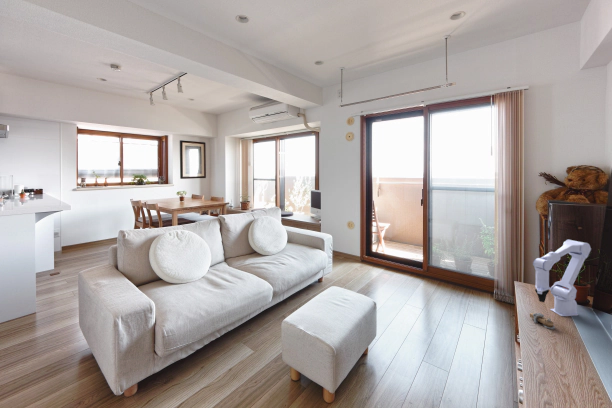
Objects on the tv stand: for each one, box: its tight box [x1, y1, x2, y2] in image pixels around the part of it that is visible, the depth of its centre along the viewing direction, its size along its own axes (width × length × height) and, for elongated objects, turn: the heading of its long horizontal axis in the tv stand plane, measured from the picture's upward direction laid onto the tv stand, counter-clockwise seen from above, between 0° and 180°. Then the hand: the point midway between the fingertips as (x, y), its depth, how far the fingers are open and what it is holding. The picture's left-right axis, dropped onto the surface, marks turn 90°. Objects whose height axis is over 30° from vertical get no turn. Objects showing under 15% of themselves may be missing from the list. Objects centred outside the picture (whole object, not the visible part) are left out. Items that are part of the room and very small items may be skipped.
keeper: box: [533, 312, 545, 324], centre depth 151 cm, size 2×4×5 cm, turn 93°
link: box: [529, 312, 555, 327], centre depth 149 cm, size 11×4×4 cm, turn 8°
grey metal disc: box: [542, 323, 556, 331], centre depth 146 cm, size 5×5×1 cm
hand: (541, 301), depth 155 cm, fingers closed
